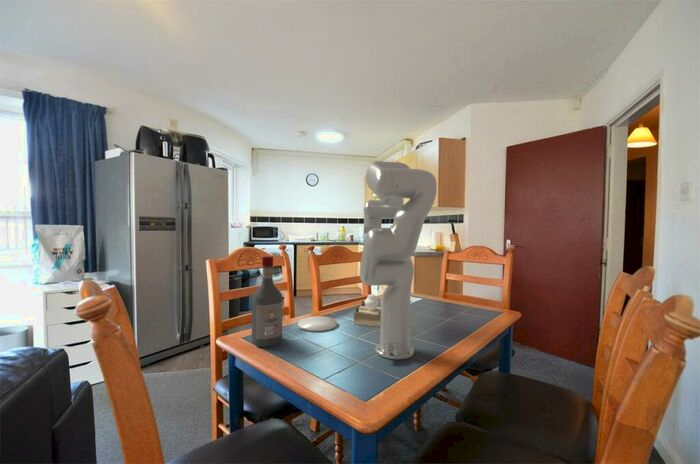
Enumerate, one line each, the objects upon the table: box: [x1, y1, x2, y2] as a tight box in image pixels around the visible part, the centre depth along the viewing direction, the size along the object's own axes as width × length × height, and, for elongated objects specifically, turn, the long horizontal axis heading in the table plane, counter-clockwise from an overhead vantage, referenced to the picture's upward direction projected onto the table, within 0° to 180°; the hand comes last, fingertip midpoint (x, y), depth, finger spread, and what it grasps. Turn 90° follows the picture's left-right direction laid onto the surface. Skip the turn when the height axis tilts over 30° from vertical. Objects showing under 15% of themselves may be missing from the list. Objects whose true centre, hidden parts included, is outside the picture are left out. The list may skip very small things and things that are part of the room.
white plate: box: [297, 315, 338, 332], centre depth 123 cm, size 16×16×1 cm
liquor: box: [251, 255, 284, 348], centre depth 105 cm, size 9×9×30 cm
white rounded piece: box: [364, 293, 380, 311], centre depth 129 cm, size 6×6×7 cm
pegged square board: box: [353, 300, 381, 328], centre depth 129 cm, size 12×12×7 cm
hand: (371, 270), depth 129 cm, fingers open, 9 cm apart
